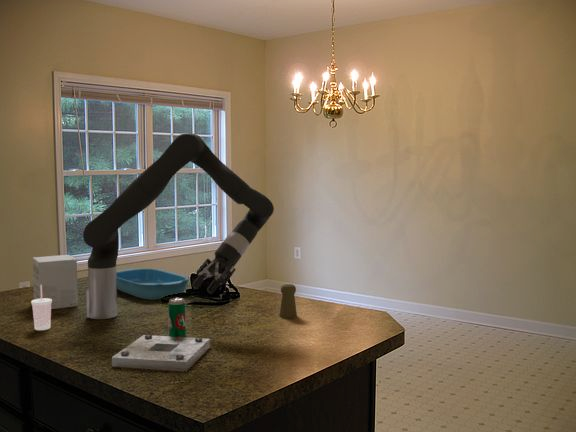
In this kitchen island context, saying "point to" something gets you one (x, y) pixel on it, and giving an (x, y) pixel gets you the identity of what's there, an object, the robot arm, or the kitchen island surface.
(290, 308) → the cork
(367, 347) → the kitchen island surface
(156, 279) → the casserole dish
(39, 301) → the beverage cup
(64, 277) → the supplement box
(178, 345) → the socket plate
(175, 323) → the soda can
